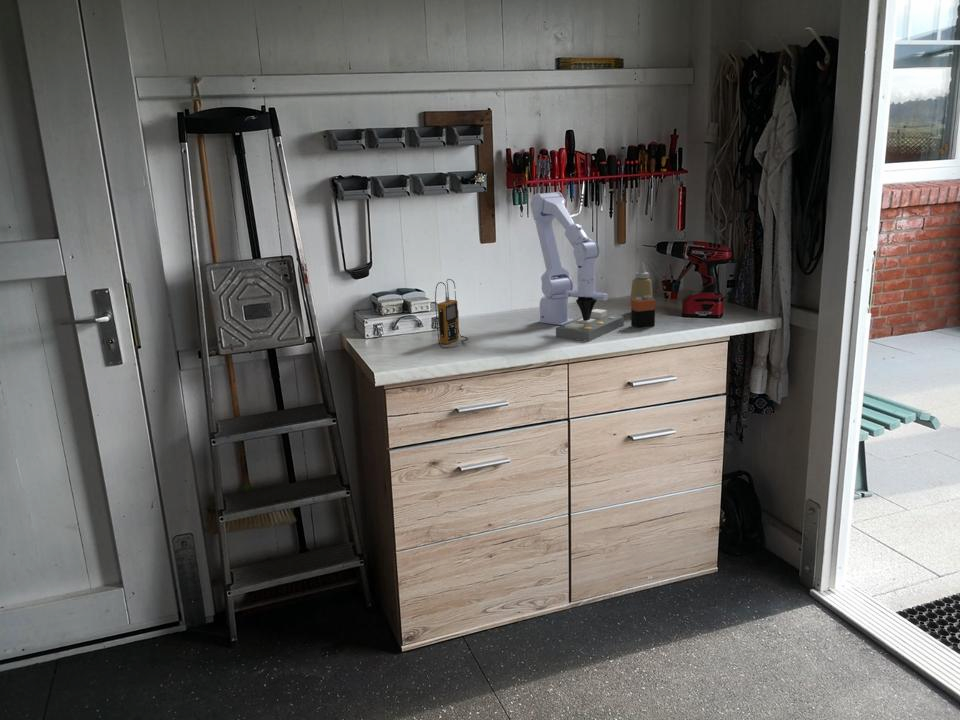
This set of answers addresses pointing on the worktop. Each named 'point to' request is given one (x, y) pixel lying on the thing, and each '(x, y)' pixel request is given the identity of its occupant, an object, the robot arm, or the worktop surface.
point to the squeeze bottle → (641, 284)
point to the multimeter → (448, 320)
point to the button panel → (591, 328)
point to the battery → (643, 312)
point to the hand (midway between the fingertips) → (586, 320)
